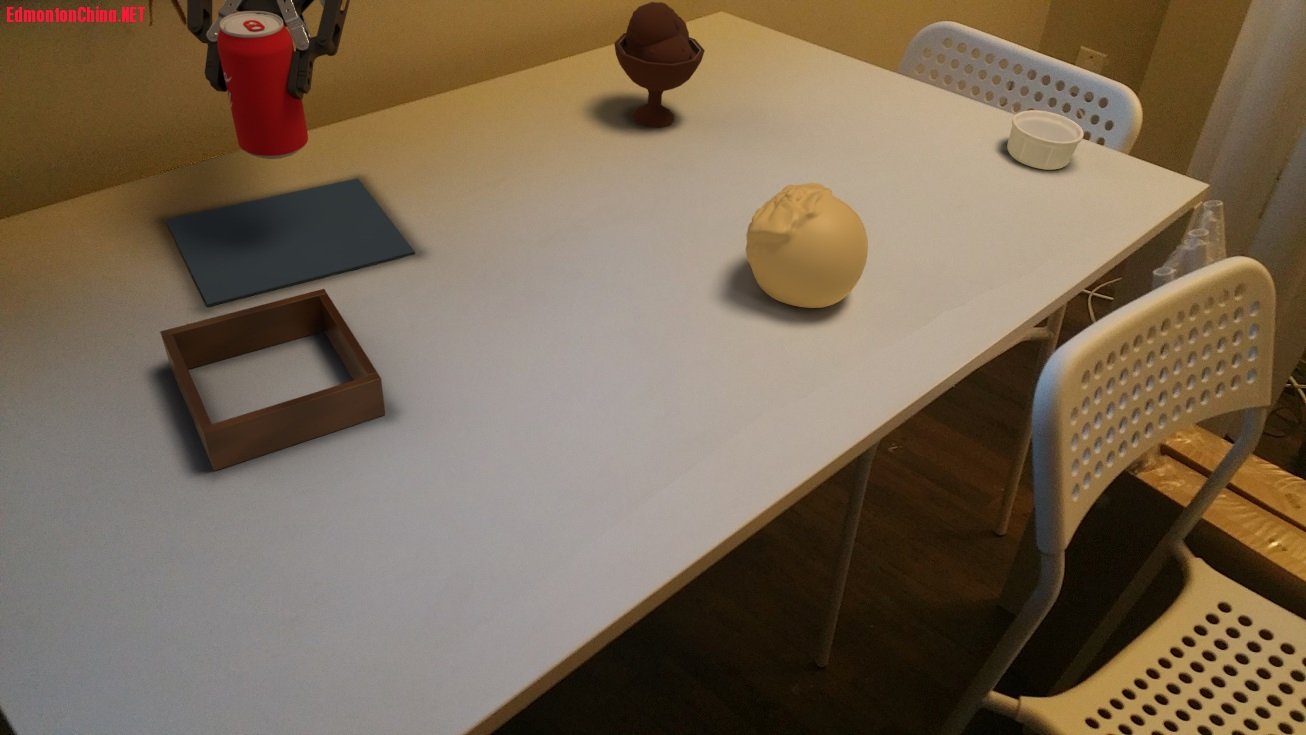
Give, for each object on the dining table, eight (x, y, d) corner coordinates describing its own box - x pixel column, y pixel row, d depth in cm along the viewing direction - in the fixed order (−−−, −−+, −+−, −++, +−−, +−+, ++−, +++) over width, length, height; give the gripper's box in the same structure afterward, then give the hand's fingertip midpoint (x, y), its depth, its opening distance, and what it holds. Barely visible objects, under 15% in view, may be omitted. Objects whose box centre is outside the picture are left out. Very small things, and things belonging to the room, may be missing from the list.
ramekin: (1062, 180, 124) (1075, 149, 121) (994, 157, 127) (1004, 126, 124) (1078, 154, 130) (1091, 124, 127) (1013, 133, 133) (1023, 103, 130)
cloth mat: (207, 306, 90) (207, 304, 90) (165, 221, 100) (165, 218, 99) (415, 254, 99) (415, 251, 99) (358, 180, 109) (358, 178, 109)
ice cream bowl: (697, 140, 123) (712, 22, 114) (608, 133, 123) (616, 13, 113) (694, 102, 131) (708, -11, 122) (611, 96, 131) (618, -19, 121)
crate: (214, 471, 75) (203, 433, 72) (170, 368, 83) (159, 331, 81) (385, 414, 81) (381, 378, 79) (329, 323, 90) (324, 288, 87)
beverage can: (292, 125, 96) (271, 3, 88) (320, 152, 93) (302, 28, 85) (228, 141, 93) (201, 15, 85) (255, 170, 90) (229, 41, 82)
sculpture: (765, 243, 106) (782, 153, 99) (870, 280, 103) (896, 190, 96) (720, 294, 98) (735, 200, 91) (832, 337, 95) (856, 243, 88)
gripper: (180, -120, 85) (155, 69, 84) (347, -103, 85) (325, 85, 84) (215, -74, 92) (193, 99, 91) (369, -59, 93) (349, 114, 91)
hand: (256, 92), depth 88 cm, fingers closed on beverage can, 6 cm apart
